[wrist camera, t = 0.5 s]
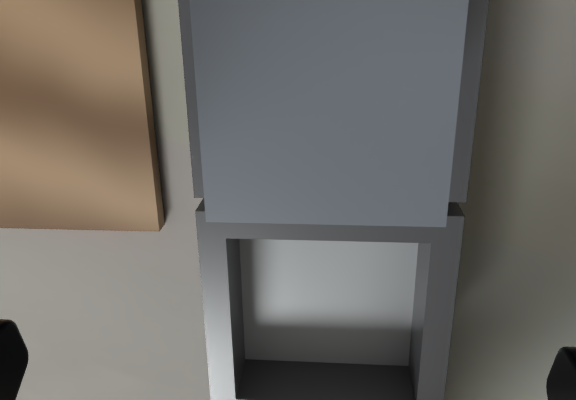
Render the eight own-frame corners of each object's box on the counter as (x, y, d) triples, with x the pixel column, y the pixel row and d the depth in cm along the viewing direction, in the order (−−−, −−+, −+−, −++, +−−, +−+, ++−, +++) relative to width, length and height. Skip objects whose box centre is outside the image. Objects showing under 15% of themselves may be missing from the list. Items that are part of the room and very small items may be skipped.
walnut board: (164, 224, 25) (159, 231, 24) (-62, 219, 26) (-74, 226, 25) (137, -37, 21) (130, -38, 20) (-130, -32, 22) (-146, -33, 21)
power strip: (416, 393, 28) (433, 486, 22) (238, 385, 28) (216, 474, 23) (460, -104, 19) (504, -135, 14) (210, -98, 20) (168, -125, 15)
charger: (399, 123, 20) (446, 226, 11) (260, 122, 20) (205, 222, 12) (408, -29, 18) (473, -39, 9) (255, -26, 18) (186, -34, 10)
